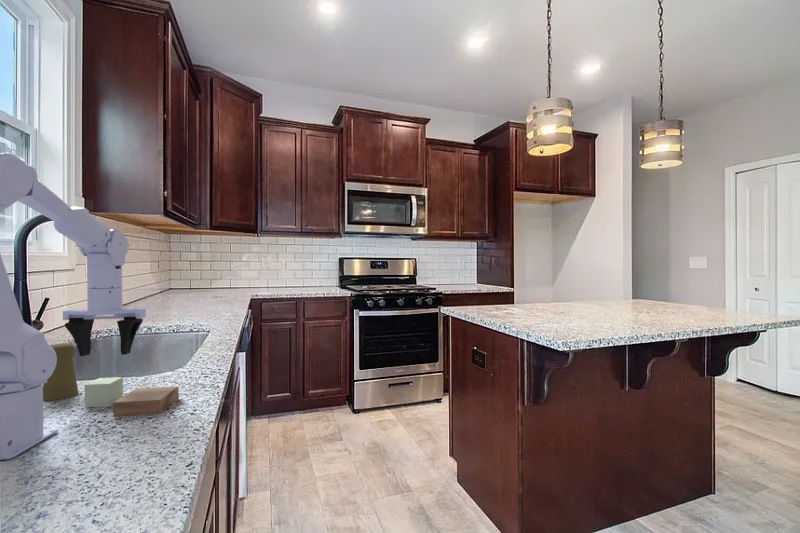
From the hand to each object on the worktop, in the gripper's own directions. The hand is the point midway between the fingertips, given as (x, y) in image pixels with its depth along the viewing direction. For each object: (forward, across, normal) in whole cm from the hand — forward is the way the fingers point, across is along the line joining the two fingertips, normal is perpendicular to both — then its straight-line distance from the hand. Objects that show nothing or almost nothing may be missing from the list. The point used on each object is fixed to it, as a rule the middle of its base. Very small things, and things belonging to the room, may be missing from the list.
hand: (105, 354), depth 80 cm
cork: (+10, +11, -5) cm, 16 cm away
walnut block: (+10, -10, +6) cm, 15 cm away
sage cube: (+10, -1, +2) cm, 10 cm away
